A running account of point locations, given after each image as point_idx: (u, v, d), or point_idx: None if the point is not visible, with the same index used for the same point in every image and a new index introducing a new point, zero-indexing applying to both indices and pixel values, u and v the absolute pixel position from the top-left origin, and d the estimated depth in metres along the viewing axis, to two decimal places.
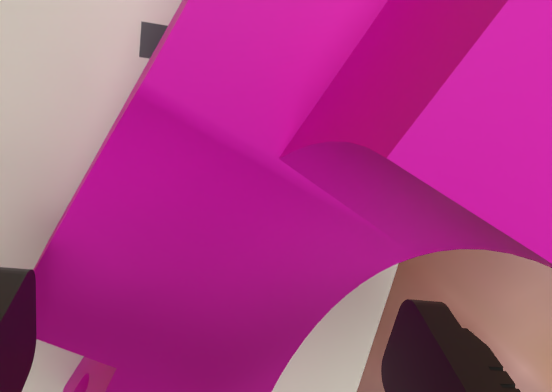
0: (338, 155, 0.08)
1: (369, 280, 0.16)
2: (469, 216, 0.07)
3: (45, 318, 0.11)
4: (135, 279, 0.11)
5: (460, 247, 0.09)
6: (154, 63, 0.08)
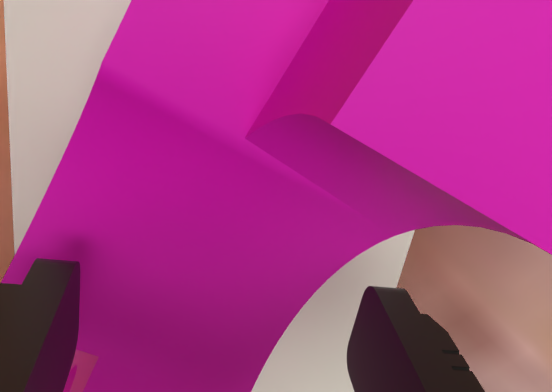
0: (298, 129, 0.07)
1: (382, 262, 0.17)
2: (430, 187, 0.07)
3: None
4: (114, 267, 0.11)
5: (434, 224, 0.09)
6: (111, 43, 0.08)
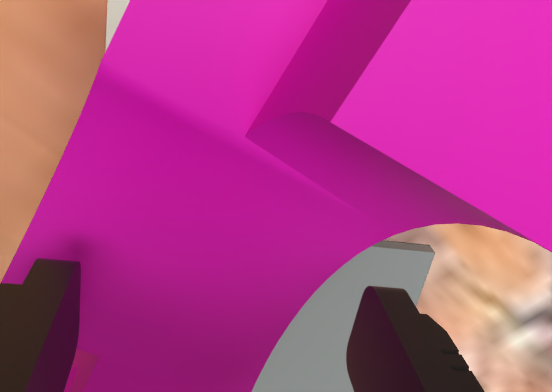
0: (298, 127, 0.07)
1: None
2: (431, 185, 0.07)
3: None
4: (114, 266, 0.11)
5: (435, 222, 0.09)
6: (111, 42, 0.08)
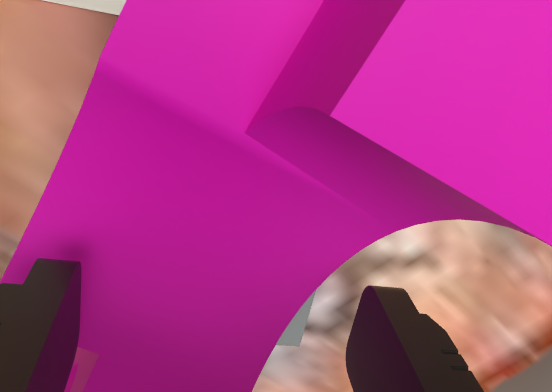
0: (298, 123, 0.07)
1: None
2: (431, 180, 0.07)
3: None
4: (114, 264, 0.11)
5: (435, 218, 0.09)
6: (110, 38, 0.08)
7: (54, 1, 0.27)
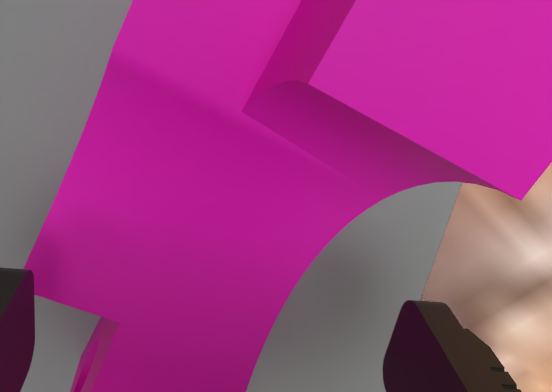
0: (287, 98, 0.08)
1: None
2: (403, 142, 0.08)
3: (51, 278, 0.12)
4: (130, 240, 0.12)
5: (416, 184, 0.10)
6: (120, 30, 0.09)
7: None
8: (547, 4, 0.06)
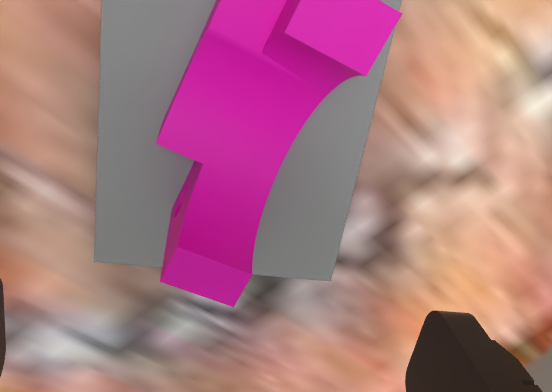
0: (279, 43, 0.22)
1: None
2: (323, 57, 0.21)
3: (172, 140, 0.25)
4: (208, 122, 0.25)
5: (338, 83, 0.23)
6: (212, 19, 0.22)
7: None
8: (362, 3, 0.19)
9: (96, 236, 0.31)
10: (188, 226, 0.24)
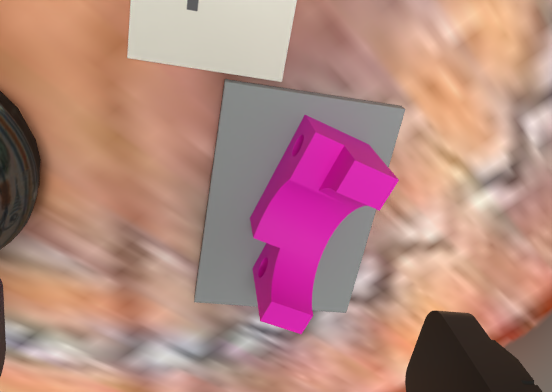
0: (330, 189, 0.39)
1: None
2: None
3: (262, 235, 0.42)
4: (283, 223, 0.43)
5: (362, 206, 0.40)
6: (292, 175, 0.39)
7: (180, 65, 0.40)
8: (377, 176, 0.37)
9: (197, 286, 0.48)
10: (275, 287, 0.41)
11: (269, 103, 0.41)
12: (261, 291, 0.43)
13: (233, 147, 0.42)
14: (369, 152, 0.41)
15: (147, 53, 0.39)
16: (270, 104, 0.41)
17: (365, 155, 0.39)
